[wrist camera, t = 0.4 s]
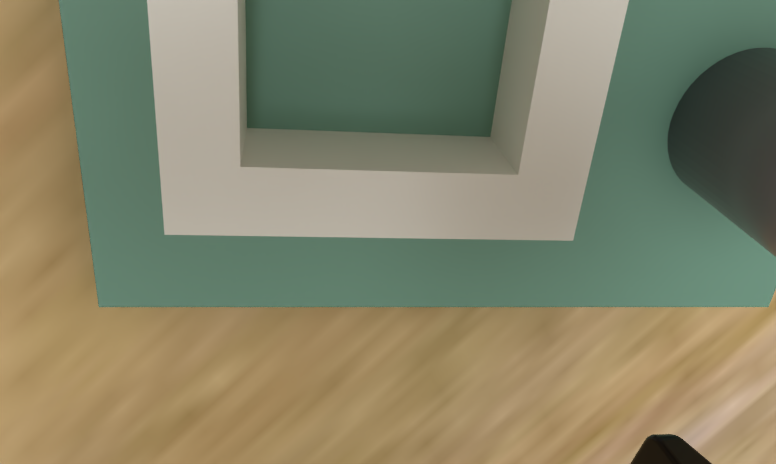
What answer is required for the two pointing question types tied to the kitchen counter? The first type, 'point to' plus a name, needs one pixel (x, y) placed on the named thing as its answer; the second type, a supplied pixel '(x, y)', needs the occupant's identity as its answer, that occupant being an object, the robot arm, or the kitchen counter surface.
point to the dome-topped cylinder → (731, 141)
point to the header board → (417, 94)
